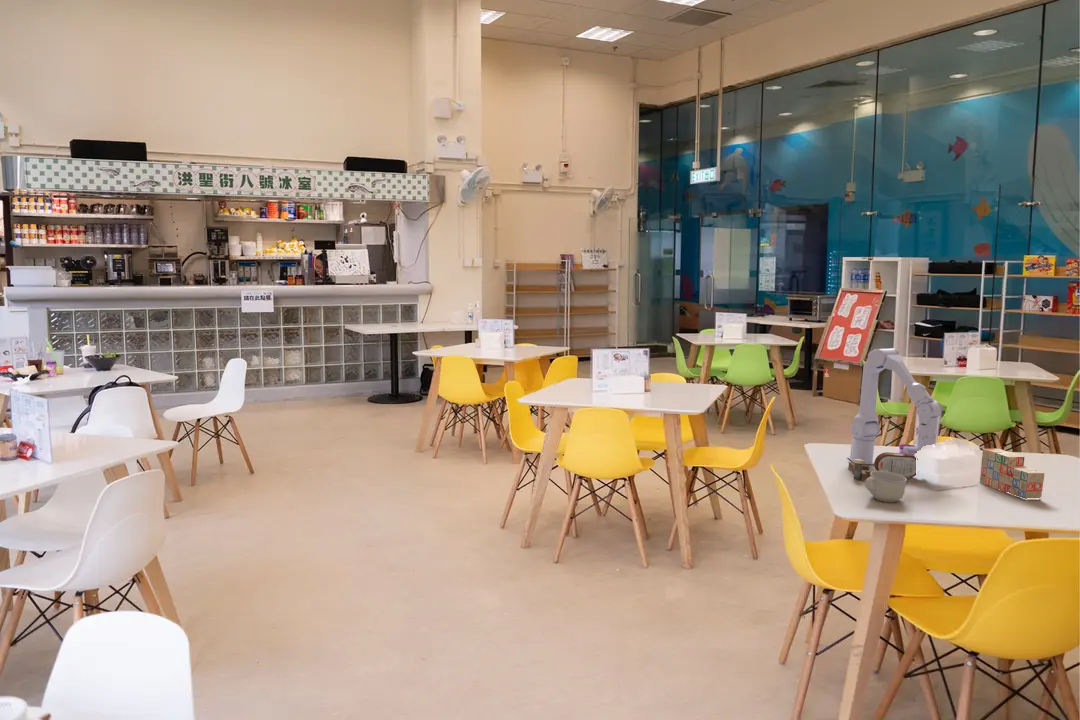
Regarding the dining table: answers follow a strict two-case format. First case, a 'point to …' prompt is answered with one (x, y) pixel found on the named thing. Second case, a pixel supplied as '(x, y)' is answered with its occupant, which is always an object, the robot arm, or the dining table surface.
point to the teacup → (886, 485)
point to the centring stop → (859, 469)
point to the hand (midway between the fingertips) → (923, 473)
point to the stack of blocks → (1010, 474)
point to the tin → (896, 464)
